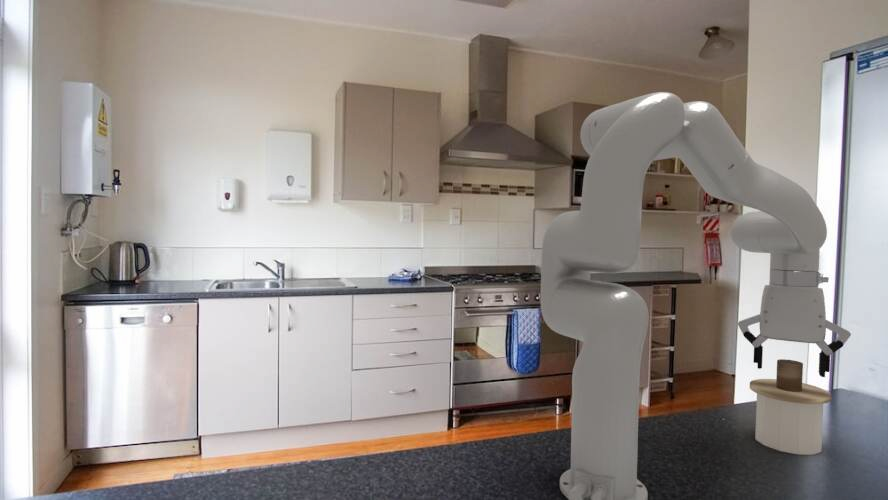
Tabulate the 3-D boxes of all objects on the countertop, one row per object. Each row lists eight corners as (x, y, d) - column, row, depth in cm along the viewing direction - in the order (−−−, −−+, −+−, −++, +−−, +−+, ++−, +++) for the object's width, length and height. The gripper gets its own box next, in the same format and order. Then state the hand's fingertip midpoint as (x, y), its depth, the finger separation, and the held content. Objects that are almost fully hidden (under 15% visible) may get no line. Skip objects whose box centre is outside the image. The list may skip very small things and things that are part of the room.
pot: (823, 459, 89) (825, 405, 89) (754, 445, 95) (756, 395, 95) (818, 439, 98) (820, 390, 98) (756, 428, 103) (757, 381, 103)
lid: (834, 409, 87) (836, 375, 87) (748, 395, 94) (749, 364, 94) (827, 390, 98) (828, 359, 98) (750, 379, 105) (751, 351, 105)
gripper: (849, 281, 94) (845, 373, 94) (740, 275, 103) (737, 360, 104) (855, 284, 87) (851, 384, 88) (738, 278, 97) (735, 368, 97)
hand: (789, 371), depth 96 cm, fingers open, 9 cm apart
